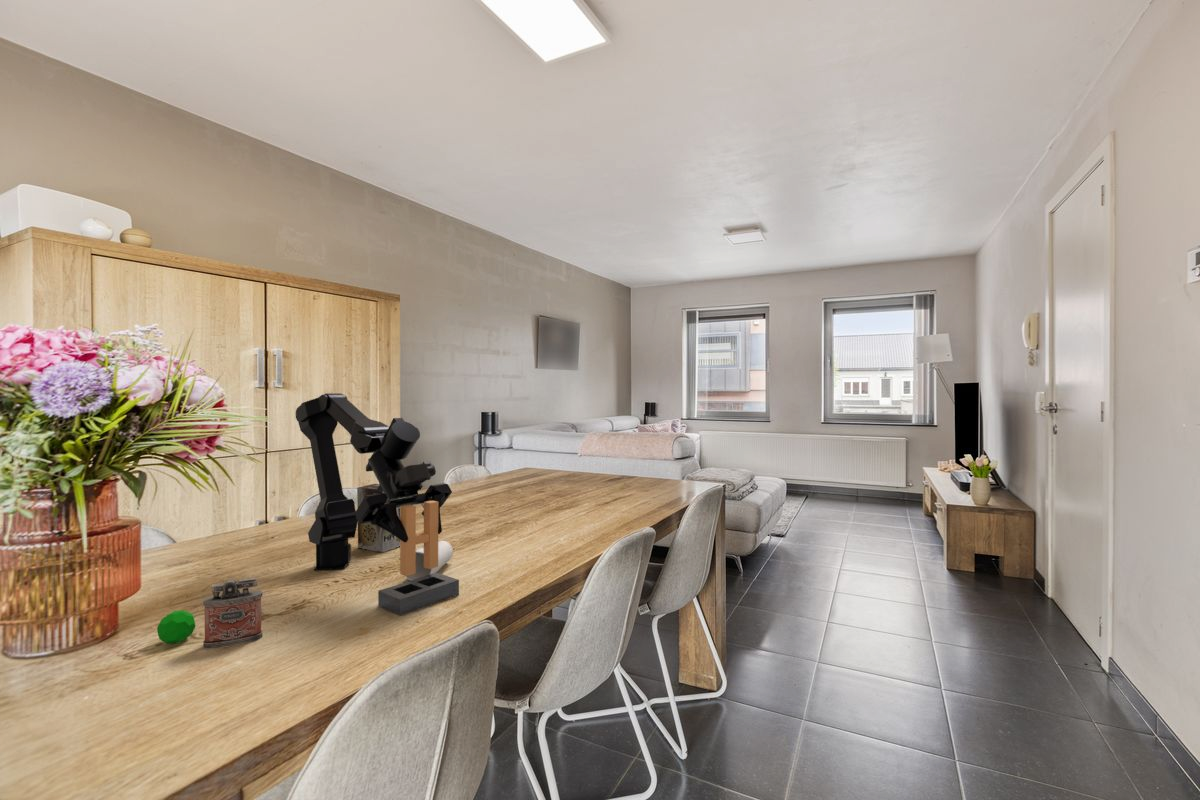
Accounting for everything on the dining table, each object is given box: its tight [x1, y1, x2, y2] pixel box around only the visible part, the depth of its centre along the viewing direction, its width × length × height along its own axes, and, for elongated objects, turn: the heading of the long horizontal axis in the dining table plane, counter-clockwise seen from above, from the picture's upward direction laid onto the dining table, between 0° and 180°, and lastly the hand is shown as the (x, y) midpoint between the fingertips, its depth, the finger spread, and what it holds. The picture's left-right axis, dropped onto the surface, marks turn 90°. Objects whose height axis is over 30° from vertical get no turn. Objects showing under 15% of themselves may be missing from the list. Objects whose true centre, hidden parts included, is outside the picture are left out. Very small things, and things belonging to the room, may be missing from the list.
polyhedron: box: [156, 610, 196, 645], centre depth 89 cm, size 5×5×5 cm
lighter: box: [202, 577, 264, 650], centre depth 89 cm, size 8×3×10 cm, turn 117°
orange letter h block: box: [399, 501, 439, 577], centre depth 107 cm, size 7×2×13 cm, turn 143°
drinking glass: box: [404, 540, 454, 581], centre depth 123 cm, size 7×7×15 cm
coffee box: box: [356, 483, 400, 553], centre depth 143 cm, size 9×6×16 cm
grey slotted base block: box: [377, 572, 460, 617], centre depth 107 cm, size 13×7×3 cm, turn 143°
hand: (423, 536), depth 106 cm, fingers closed on orange letter h block, 7 cm apart
